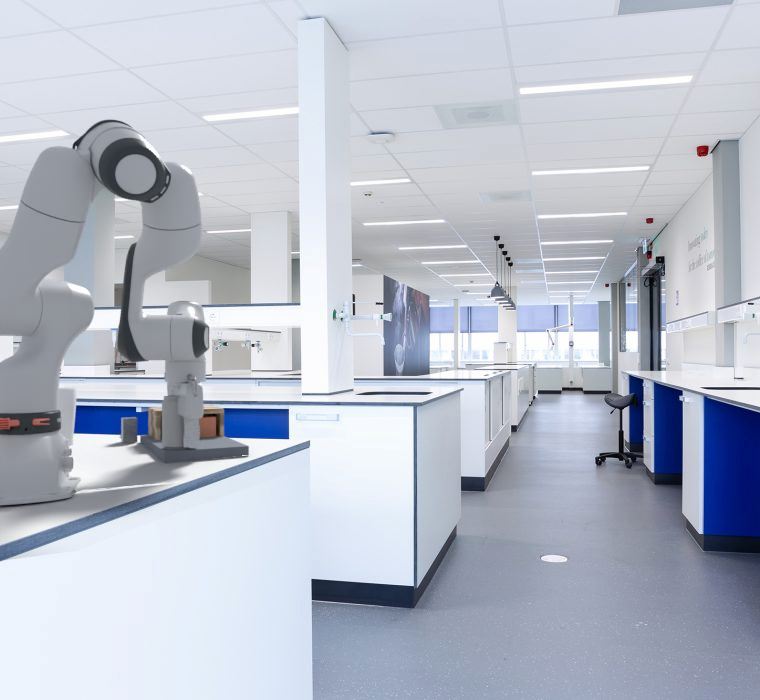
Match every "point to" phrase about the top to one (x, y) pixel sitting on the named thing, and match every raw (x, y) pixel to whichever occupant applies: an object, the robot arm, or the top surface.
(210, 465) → the top surface
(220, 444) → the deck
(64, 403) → the drinking glass
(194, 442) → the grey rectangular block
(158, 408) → the cubby
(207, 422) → the cube
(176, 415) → the beverage can
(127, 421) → the mallet
